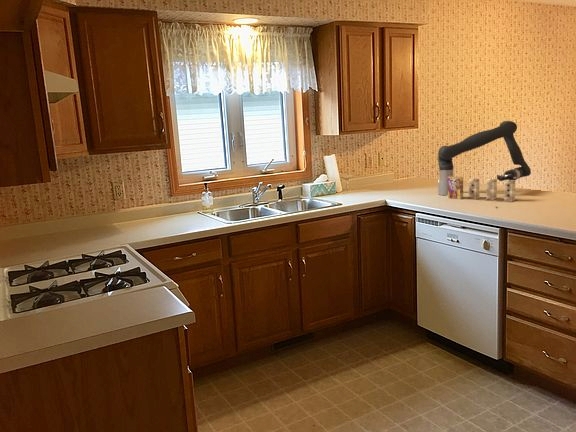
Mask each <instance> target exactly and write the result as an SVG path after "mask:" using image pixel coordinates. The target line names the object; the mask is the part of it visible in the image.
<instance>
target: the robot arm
mask: <svg viewBox="0 0 576 432" xmlns="http://www.w3.org/2000/svg"><path fill="white" fill-rule="evenodd" d="M517 130H518V124H517V123H516V122H514V121H511V120H504V121H502V122H501V123H500V124H499V126H497V127H494V128H491V129H487V130H483V131H482V130H481V131H479V132H477V133H474V134H472V135H470V136H467V137H466V138H464V139H463V140H461V141H460V142H457V143H454V144H451V145H442V146H441V147H439V149H438V153H437V155H438V156H437V157H438V173H439V174H438V175H439V176H438V177H439V178H438V181H437V189H438V191H437V194H438V195H440V196H448V177H450V176H453V177H455V175H454V164H453V159H454V158H456V157H458V156H459V155H462V154H464V153H467V152H469V151H473V150H475V149H477V148H480V147H483V146H485V145H488V144H490V143H492V142H495V140H499V139H501V138H503V141H504V142H505V144H506V147H507V149H508V152H509V156H510V158H511V161H512V163H513V165H514V166H515V165H516V166H518V167H514V168H512V169H508V170H506V171H505V172H504V173H503V174H501V175H498V174H497V175H496V179H497V181H499V182H503V181H504V182H505V181H506V180H515V181H517V180H520V179H521V178H525V177H529V176H530V175H531V172H532V170H531V168H530V166H529V165H528V163H527V162H526V160H525V157H524V155H523V153H522V150H521V148H520V146H519V145H518V142H517V141H516V139H515V136H514V134H515V133H516V131H517Z"/></svg>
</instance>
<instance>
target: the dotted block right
mask: <svg viewBox="0 0 576 432" xmlns="http://www.w3.org/2000/svg"><path fill="white" fill-rule="evenodd" d="M503 187H504V191H503V193H504V194H503V195H504V196H503V199H504V201H514V200H515V199H516V180H506V181H505V180H504V186H503Z"/></svg>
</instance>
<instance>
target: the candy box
mask: <svg viewBox="0 0 576 432" xmlns="http://www.w3.org/2000/svg"><path fill="white" fill-rule="evenodd" d="M453 176H454V175H453ZM453 176H450V177H448V195H447V199H453V200H463V199H464V176H454V177H453Z"/></svg>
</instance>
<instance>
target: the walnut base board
mask: <svg viewBox="0 0 576 432" xmlns="http://www.w3.org/2000/svg"><path fill="white" fill-rule="evenodd" d="M464 200H472V201H473V200H474V201H488V202H498V203H499V202H501V203H515V202H517V201H518V202H519V199H516V198H515V200H514V201H504V198H499V197H498V198H497V199H494V200H490V199H486V196H479V198H477V199H472V198H469V197H466V198H464Z"/></svg>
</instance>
